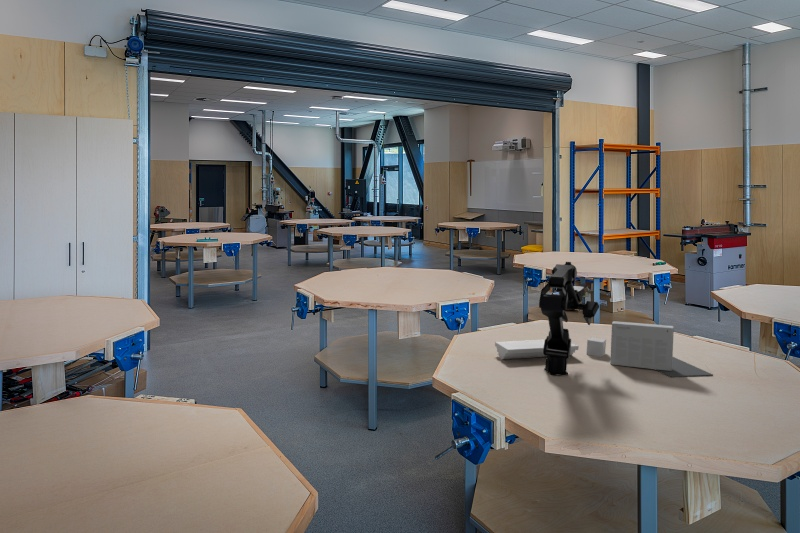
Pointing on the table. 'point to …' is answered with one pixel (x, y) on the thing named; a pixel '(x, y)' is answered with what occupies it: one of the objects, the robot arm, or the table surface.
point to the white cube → (596, 346)
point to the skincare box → (642, 345)
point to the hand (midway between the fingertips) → (578, 322)
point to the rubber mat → (684, 370)
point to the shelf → (524, 349)
